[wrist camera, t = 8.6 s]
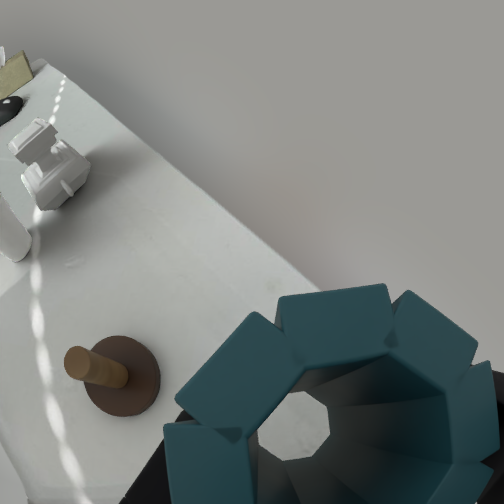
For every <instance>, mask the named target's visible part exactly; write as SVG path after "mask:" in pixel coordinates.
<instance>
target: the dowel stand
mask: <svg viewBox="0 0 504 504" xmlns="http://www.w3.org/2000/svg"><path fill="white" fill-rule="evenodd" d="M64 367H65V370H66V372H67V374H68V375H69V376H70V377H72V378H73V379H76V380H80V381H84V385H85V388H86V391H87V393H88V395H89V397H90V399H91V400H92V401H93V403H94V404H95V405H96V406H97V407H98V408H100V409H101V410H102V411H104V412H106V413H108V414H110V415H114V416H120V417H127V416H135V415H138V414H140V413H142V412H144V411H145V410H147V409H148V408H149V407H150V406H151V405H152V403H153V402H154V401H155V399H156V397H157V395H158V392H159V388H160V371H159V367H158V364H157V361H156V359H155V358H154V356H153V354H152V353H151V352H150V351H149V350H148V349H147V348H146V347H145V346H144V345H142V344H141V343H139V342H137V341H136V340H134V339H132V338H130V337H126V336H111V337H107V338H105V339H103V340H101V341H100V342H98V343H97V344H96V345H95V346H94V347H93V348H92V349H91V351H90V350H88V349H86V348H83V347H81V346H74V347H72V348H70V349H69V350H68V351H67V353H66V355H65V358H64Z"/></svg>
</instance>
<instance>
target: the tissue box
mask: <svg viewBox="0 0 504 504" xmlns="http://www.w3.org/2000/svg"><path fill="white" fill-rule="evenodd" d="M32 79H33V74H32V70H31V68H30V65H29V61H28V59H27V57H26V55H25V53H24V51H23V50H22V51H20V52H19V53H17V54H16V55H14V56H13V57H11V58H10V59H9V60H7V61H6V62H5V53H4V46H3V47H0V100H1V99H4V98H6V97H8V96H9V95H10V94H12V93H13V92H14V91H16V90H17V89H19V88H20V87H22V86H23V85H24V84H26V83H27V82H29V81H30V80H32Z"/></svg>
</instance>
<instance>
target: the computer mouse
mask: <svg viewBox="0 0 504 504" xmlns="http://www.w3.org/2000/svg"><path fill="white" fill-rule="evenodd" d="M22 103H23V100H22V98H20V97H19V96H11V97H6V98H4V99H1V100H0V126H1V125H2V124H4V123H5V122H7V121H9V120H10V119H12V118H13V117H14V116H15V115H16V113H17V112H18V110H19V109H20V107H21V105H22Z"/></svg>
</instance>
